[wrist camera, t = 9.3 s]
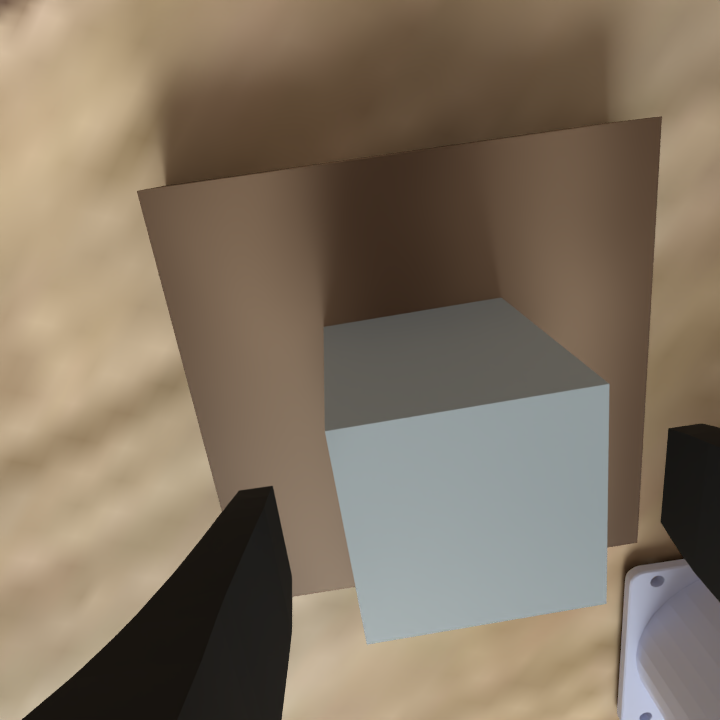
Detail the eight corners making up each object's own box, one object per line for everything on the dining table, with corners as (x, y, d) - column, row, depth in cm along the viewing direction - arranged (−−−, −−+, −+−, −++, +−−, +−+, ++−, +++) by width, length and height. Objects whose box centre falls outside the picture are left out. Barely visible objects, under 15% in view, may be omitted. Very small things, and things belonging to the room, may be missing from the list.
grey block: (501, 297, 14) (609, 383, 9) (510, 452, 15) (606, 603, 10) (323, 327, 14) (324, 431, 9) (351, 479, 15) (367, 644, 10)
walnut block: (599, 123, 15) (661, 116, 12) (591, 487, 20) (637, 542, 17) (170, 184, 15) (137, 191, 12) (256, 538, 19) (246, 603, 16)
